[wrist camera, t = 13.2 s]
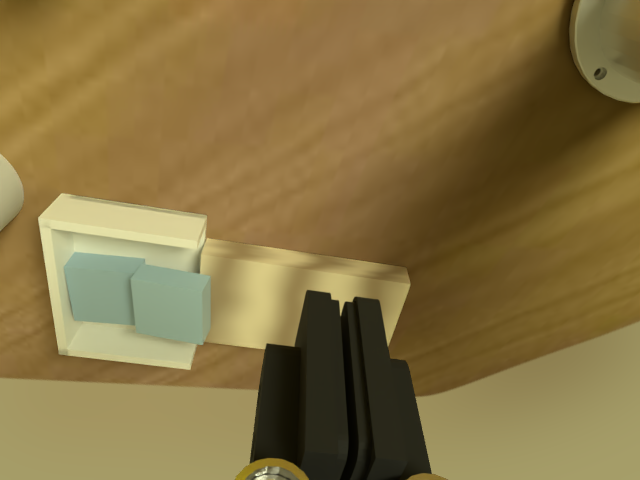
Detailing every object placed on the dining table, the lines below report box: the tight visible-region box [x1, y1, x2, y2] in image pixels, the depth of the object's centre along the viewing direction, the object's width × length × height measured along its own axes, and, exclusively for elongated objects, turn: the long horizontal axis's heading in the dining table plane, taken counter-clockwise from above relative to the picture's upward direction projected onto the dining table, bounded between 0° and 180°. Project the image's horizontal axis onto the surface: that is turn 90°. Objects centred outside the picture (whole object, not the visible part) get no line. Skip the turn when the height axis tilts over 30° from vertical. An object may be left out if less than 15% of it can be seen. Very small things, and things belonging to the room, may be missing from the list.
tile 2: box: [131, 264, 211, 345], centre depth 42 cm, size 6×6×2 cm
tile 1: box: [64, 252, 146, 326], centre depth 43 cm, size 6×6×2 cm
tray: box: [38, 193, 207, 370], centre depth 42 cm, size 12×15×4 cm
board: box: [200, 238, 411, 349], centre depth 44 cm, size 18×10×2 cm, turn 79°
